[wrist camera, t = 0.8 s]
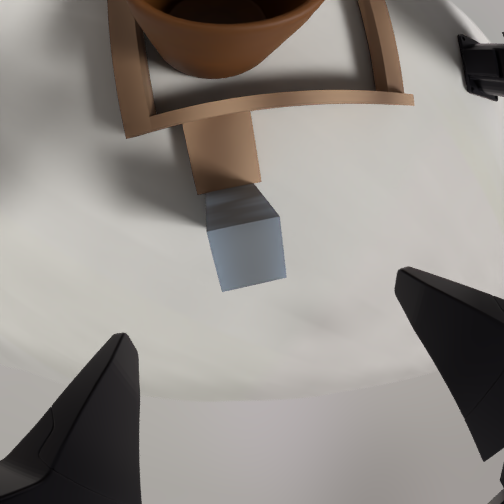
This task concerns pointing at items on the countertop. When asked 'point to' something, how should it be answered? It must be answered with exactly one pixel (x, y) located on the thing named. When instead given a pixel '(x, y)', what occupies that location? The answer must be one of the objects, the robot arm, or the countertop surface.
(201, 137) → the brown frame with handle
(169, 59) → the mug
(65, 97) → the countertop surface
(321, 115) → the countertop surface
